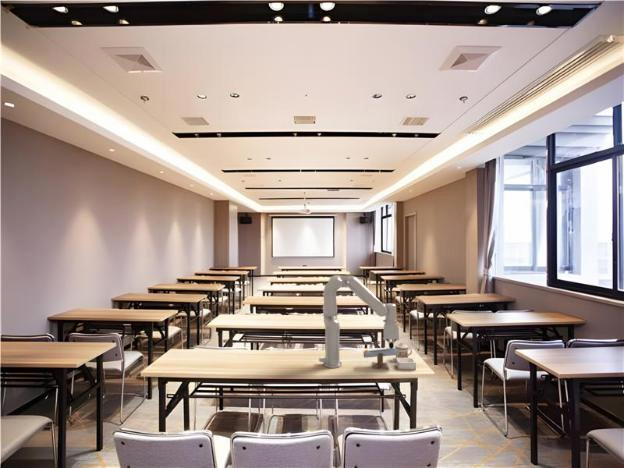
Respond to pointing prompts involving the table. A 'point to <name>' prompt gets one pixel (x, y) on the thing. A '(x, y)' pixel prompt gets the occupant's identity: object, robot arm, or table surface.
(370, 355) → the lever
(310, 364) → the table surface
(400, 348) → the teacup with lid
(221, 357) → the table surface
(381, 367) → the stand
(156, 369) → the table surface
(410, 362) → the white rectangular tray
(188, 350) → the table surface
